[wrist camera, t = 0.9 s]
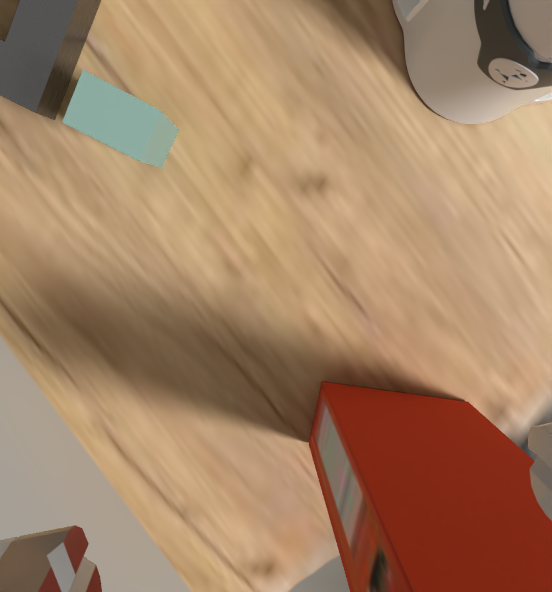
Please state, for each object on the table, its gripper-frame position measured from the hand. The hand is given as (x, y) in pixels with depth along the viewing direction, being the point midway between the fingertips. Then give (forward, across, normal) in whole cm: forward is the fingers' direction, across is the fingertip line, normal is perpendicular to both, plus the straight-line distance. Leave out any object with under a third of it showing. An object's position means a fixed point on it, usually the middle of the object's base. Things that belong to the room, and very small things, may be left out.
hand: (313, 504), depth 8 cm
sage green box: (+39, +8, -12) cm, 42 cm away
